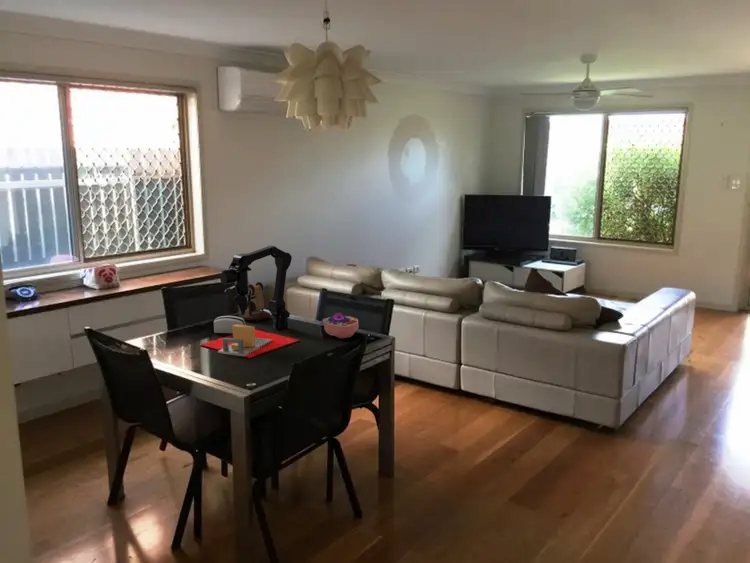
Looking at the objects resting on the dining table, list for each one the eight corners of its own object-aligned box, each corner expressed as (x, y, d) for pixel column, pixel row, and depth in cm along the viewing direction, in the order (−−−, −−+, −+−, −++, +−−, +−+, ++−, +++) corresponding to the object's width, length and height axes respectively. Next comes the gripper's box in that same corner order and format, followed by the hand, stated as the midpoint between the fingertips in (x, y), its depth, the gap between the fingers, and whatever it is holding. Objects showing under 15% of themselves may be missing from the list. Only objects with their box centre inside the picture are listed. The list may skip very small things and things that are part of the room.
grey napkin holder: (249, 330, 325) (245, 314, 319) (246, 336, 321) (243, 320, 315) (217, 329, 327) (213, 313, 322) (214, 335, 323) (210, 319, 318)
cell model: (328, 344, 302) (328, 321, 300) (320, 332, 321) (319, 310, 318) (363, 341, 307) (362, 318, 304) (352, 329, 325) (352, 308, 323)
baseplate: (247, 338, 312) (246, 325, 310) (272, 341, 307) (271, 327, 305) (218, 353, 290) (217, 338, 289) (244, 356, 285) (243, 342, 284)
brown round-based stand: (257, 324, 336) (255, 287, 332) (237, 320, 344) (235, 284, 340) (276, 318, 348) (274, 282, 344) (256, 314, 356) (254, 279, 352)
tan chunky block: (237, 342, 300) (236, 324, 298) (255, 345, 297) (254, 326, 295) (226, 348, 292) (224, 329, 290) (244, 350, 289) (243, 331, 287)
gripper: (228, 277, 316) (230, 307, 320) (221, 285, 298) (224, 318, 301) (251, 276, 317) (253, 306, 320) (245, 285, 298) (248, 317, 302)
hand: (244, 312), depth 311 cm, fingers open, 9 cm apart
